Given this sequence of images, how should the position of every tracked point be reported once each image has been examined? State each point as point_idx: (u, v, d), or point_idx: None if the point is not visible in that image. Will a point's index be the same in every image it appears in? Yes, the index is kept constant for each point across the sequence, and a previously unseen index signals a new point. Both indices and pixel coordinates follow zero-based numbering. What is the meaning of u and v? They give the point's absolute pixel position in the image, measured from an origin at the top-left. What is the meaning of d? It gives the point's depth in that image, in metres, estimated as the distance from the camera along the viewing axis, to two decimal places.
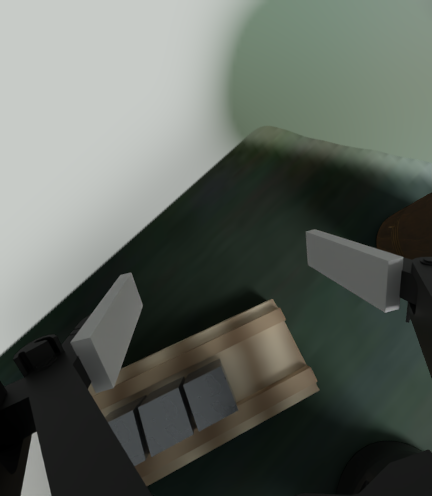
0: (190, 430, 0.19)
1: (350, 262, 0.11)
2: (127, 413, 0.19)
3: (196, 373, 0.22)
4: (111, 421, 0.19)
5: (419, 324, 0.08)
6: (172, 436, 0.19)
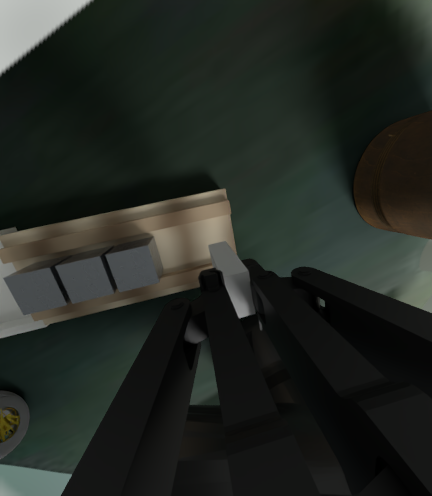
0: (111, 290, 0.20)
1: None
2: (43, 269, 0.19)
3: (124, 246, 0.21)
4: (26, 273, 0.19)
5: (272, 333, 0.09)
6: (92, 292, 0.20)
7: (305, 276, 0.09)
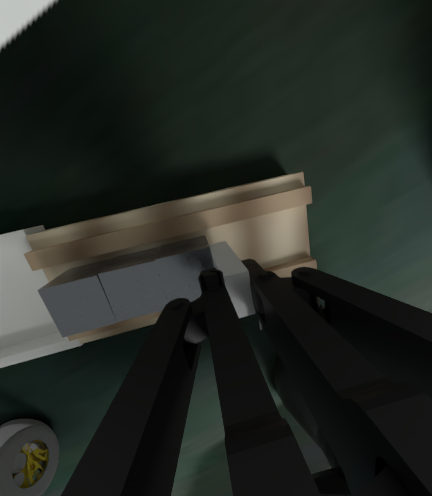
0: None
1: None
2: (89, 277, 0.14)
3: (173, 247, 0.17)
4: (67, 283, 0.14)
5: (271, 333, 0.09)
6: (143, 307, 0.15)
7: (305, 276, 0.09)
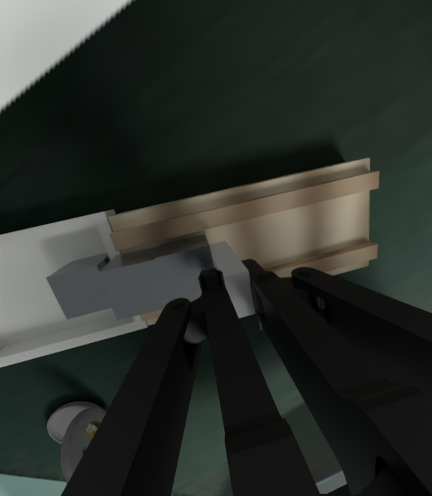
0: (166, 303, 0.16)
1: None
2: (50, 275, 0.17)
3: (173, 246, 0.17)
4: (61, 268, 0.18)
5: (271, 333, 0.09)
6: (143, 306, 0.15)
7: (305, 276, 0.09)
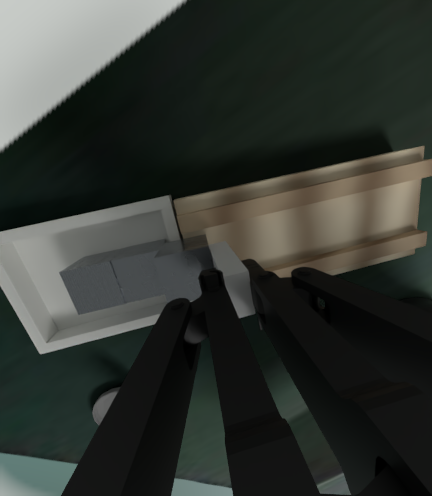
0: None
1: None
2: (63, 270, 0.17)
3: (173, 246, 0.17)
4: (73, 264, 0.18)
5: (271, 333, 0.09)
6: (149, 291, 0.18)
7: (305, 276, 0.09)
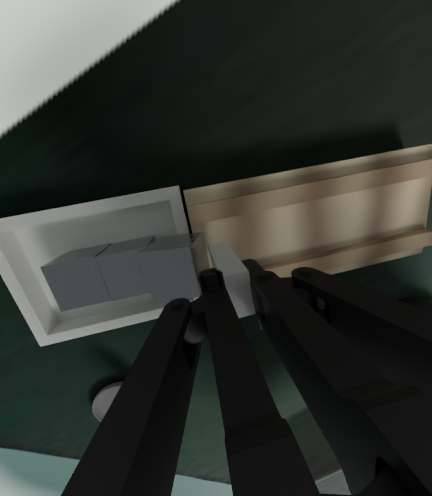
0: None
1: None
2: (45, 265, 0.16)
3: (164, 242, 0.17)
4: (56, 258, 0.18)
5: (272, 333, 0.09)
6: (135, 288, 0.17)
7: (305, 276, 0.09)
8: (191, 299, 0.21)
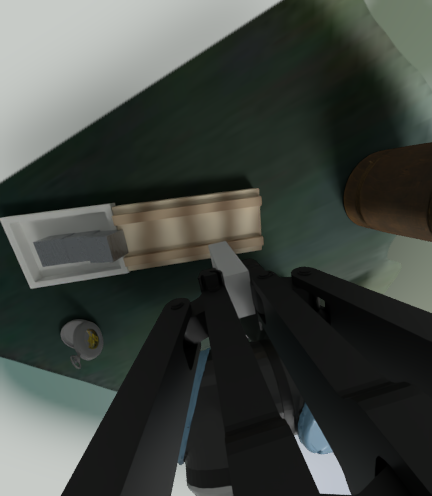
0: None
1: None
2: (35, 241, 0.31)
3: (99, 233, 0.32)
4: (42, 239, 0.33)
5: (272, 333, 0.09)
6: (83, 257, 0.32)
7: (305, 276, 0.09)
8: (120, 268, 0.36)
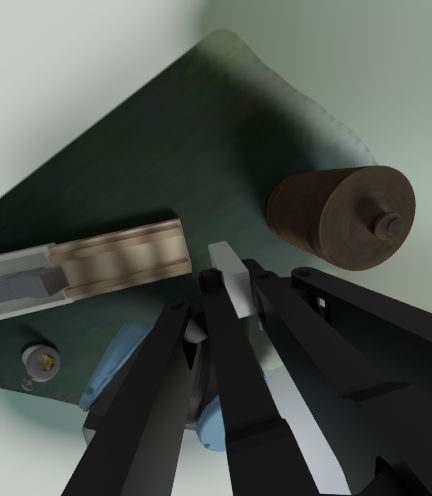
0: None
1: None
2: None
3: (38, 272, 0.37)
4: None
5: (272, 333, 0.09)
6: (27, 293, 0.37)
7: (305, 276, 0.09)
8: (65, 298, 0.41)
